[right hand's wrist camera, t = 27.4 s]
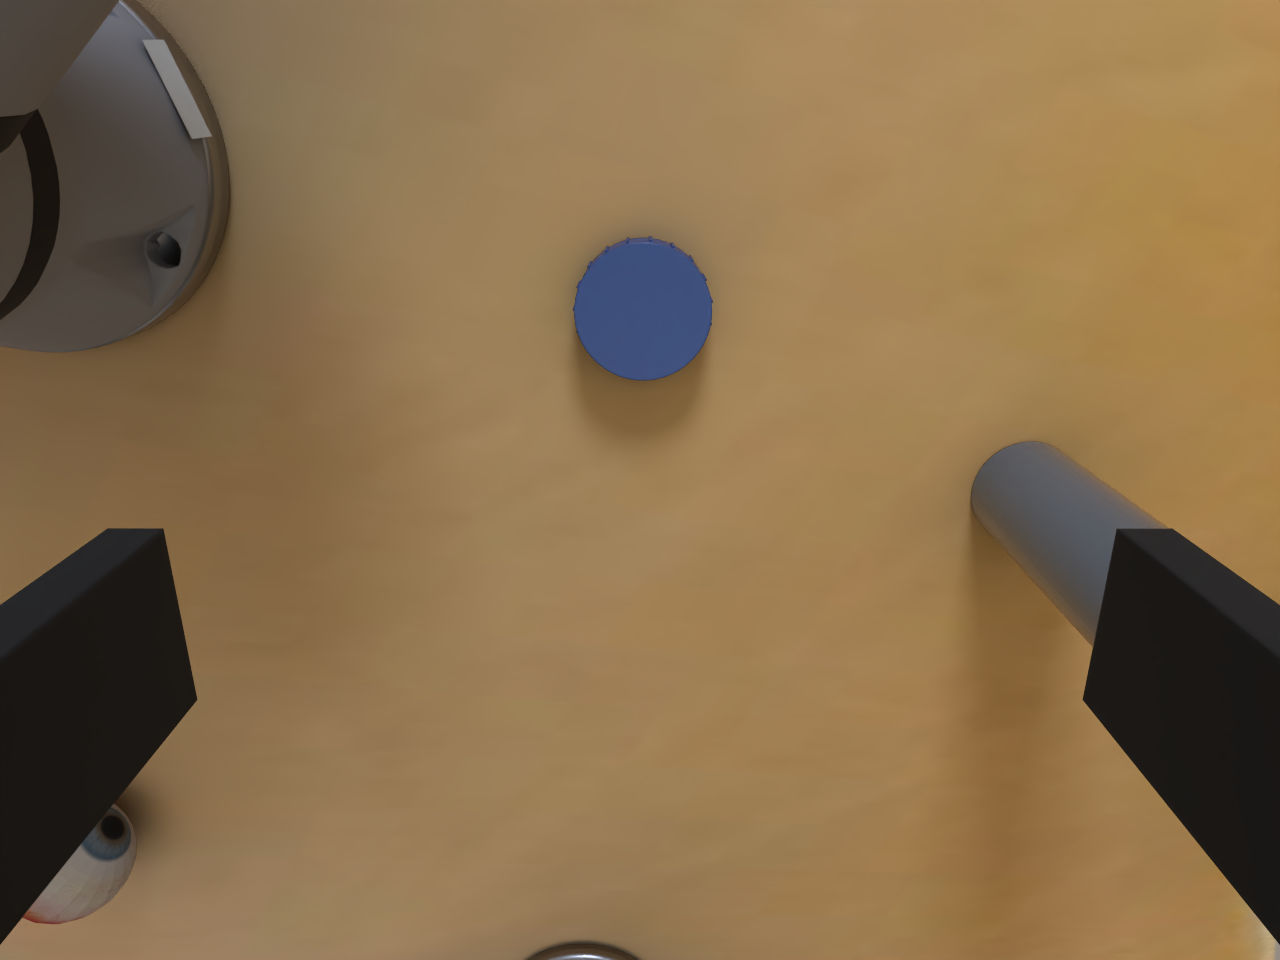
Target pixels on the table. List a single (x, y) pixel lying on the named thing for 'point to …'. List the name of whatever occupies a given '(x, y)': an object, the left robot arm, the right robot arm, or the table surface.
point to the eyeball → (89, 872)
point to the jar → (1056, 524)
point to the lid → (643, 309)
